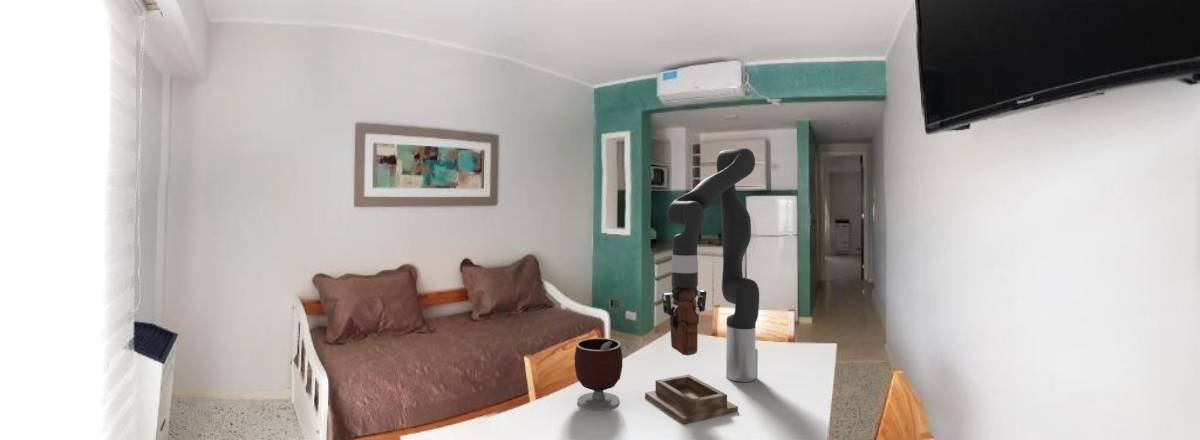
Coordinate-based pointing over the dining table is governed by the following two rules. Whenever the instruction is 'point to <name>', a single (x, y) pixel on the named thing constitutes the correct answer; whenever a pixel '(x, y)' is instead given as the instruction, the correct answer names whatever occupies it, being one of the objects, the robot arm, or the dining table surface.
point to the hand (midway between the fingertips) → (684, 327)
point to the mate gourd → (598, 372)
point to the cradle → (690, 399)
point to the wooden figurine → (685, 324)
